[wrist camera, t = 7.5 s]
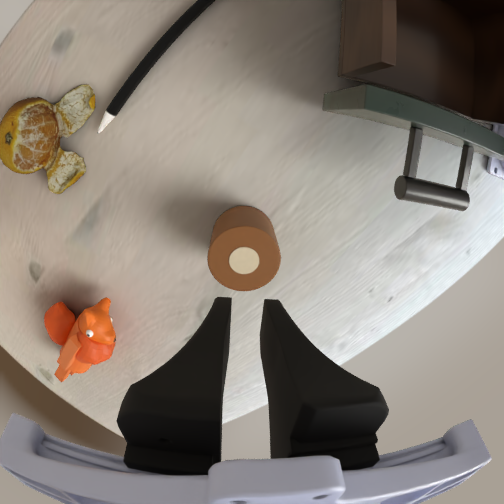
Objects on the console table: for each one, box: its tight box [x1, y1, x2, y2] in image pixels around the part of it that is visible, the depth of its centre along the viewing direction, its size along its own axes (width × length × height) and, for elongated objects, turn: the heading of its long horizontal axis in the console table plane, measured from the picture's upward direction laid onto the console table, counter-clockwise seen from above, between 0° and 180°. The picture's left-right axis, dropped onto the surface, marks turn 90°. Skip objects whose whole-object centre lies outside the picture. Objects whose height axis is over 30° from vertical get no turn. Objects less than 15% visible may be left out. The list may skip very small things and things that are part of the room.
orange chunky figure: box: [44, 297, 116, 382], centre depth 23 cm, size 5×8×12 cm
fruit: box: [0, 85, 95, 194], centre depth 15 cm, size 8×8×4 cm
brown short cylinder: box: [208, 206, 281, 291], centre depth 20 cm, size 4×4×4 cm
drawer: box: [323, 0, 504, 211], centre depth 13 cm, size 17×13×7 cm
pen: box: [97, 0, 215, 134], centre depth 14 cm, size 1×19×1 cm, turn 139°
